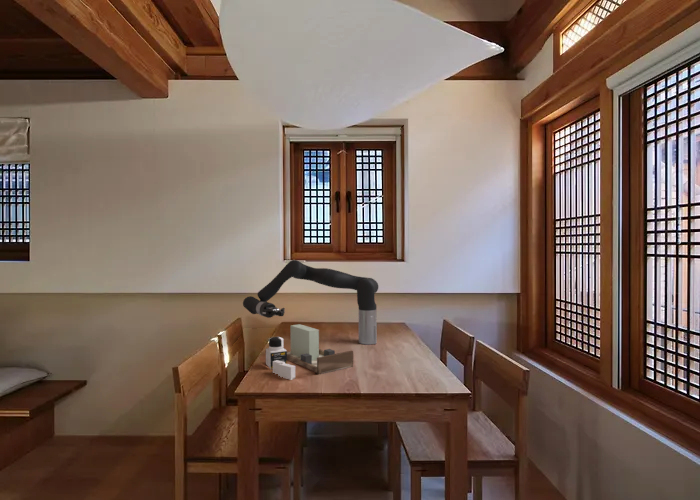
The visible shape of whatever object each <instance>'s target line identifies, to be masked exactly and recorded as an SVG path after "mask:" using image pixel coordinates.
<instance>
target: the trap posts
mask: <svg viewBox="0 0 700 500" xmlns="http://www.w3.org/2000/svg"><path fill="white" fill-rule="evenodd" d="M323 351H324V356H328V355H332V354H336V351H335V350H334V349H331V348H326V349H323ZM301 360H302V361H305V362H307V363H309V364H312V355H310V354H307V353H306V354H301Z"/></svg>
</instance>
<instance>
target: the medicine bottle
mask: <svg viewBox="0 0 700 500" xmlns="http://www.w3.org/2000/svg"><path fill="white" fill-rule="evenodd" d="M284 346H285V345H284V338H283V337H280V336H273V337H270V338H269V339H268V347H267V348H265V364H266V366H267V367H268V368H269V369H270V370H273V361H276V360H279V361H283V362H285V363H286V364H288V360H287V352H288V350H287V349H286V348H284Z"/></svg>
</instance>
